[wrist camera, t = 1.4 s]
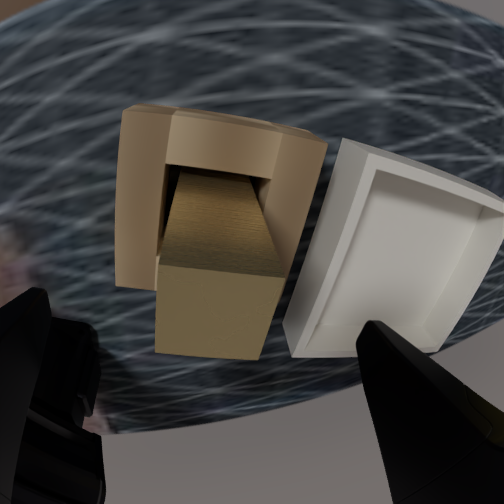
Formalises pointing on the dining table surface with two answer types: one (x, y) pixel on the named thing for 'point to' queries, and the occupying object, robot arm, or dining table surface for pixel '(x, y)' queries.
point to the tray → (391, 253)
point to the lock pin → (216, 269)
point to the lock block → (209, 157)
